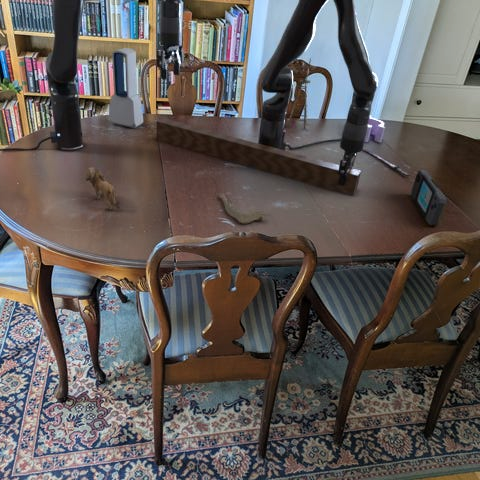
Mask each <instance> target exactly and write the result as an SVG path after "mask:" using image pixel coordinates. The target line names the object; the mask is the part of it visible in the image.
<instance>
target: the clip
mask: <svg viewBox="0 0 480 480" xmlns="http://www.w3.org/2000/svg"><path fill="white" fill-rule="evenodd" d="M385 129H386V127H385V122H384V121H383V120H380V119H377V118H374V117H372V115H371V114H370V118H369V122H368V127H367V133H366V137H365V141H364V143H368V142H369V140H370V135H372V136H374V139H373V140H374V142H376V143H382V140H383V137H384V132H385Z"/></svg>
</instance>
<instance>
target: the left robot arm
mask: <svg viewBox="0 0 480 480" xmlns="http://www.w3.org/2000/svg"><path fill="white" fill-rule="evenodd" d="M84 8H85V0H52V21H53V30H54V31H53V32H54V40H53V47H52V51H50V52H49V54H47V56H46V58H45V70H46V78H47V79H46V80H47V85H48V91H49V95H50V101H51V102H50V103H51V110H52V116H53V127H54V128H53V129H54V130H53V131H49V135H50V136H48V137H46V138H43V139H41V140H40V141H39V142H38V144H37V146H34V147H32V148H21V147H19V148H18V147H9V148H7V147H6V148H0V152H5V151H7V152H8V151H22V152H23V151H35V150H37V149H39V148H40V146H41V144H42V143H44V142H46V141H48V140H50V142H51V144H56V149H57V150H59V151H60V150H62V151H77V150H80V149H83V147H84V140H83V139H84V138H83V135H84V134H83V129H82V120H81V108H80V100H79V99H80V98H79V97H80V96H79V92H78V91H79V90H78V87H77V81H76V76H77V74H78V48H79V39H80V34H81V28H82V21H83V15H84V10H85V9H84ZM159 43H160V44H161V45H162V49H157V50H156V68H160V79H161V80H164V81H166V80H167V79H168V66H169V65H170V64H171V62H173V75H174V76H180V74H181V73H180V72H181V65H182V63H184V61H185V60H184V59H185V56H184V51H185V50H184V49H185V47H184V45H182V2H181V0H160V19H159Z"/></svg>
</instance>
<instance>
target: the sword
mask: <svg viewBox="0 0 480 480" xmlns="http://www.w3.org/2000/svg"><path fill="white" fill-rule="evenodd" d="M362 151H365V152H366V153H368V154H370V155H371V156H374V157H375V158H377V159H378V160H380V161H382V162H384V164H386V165H388V166H390V168H392V169H394V170H397V171H398V172H400V173H401V174H402V175H404V176H406V177H410V174H408V173H407V172H406V171H404V170H403V169H402V168H400V166H398V165H395V164H394V163H392V162H389V161H388V160H386V159H385V158H383V157H381V156H379V155H377V154H376V153H373V152H372V151H370V150H368V149H366V148H363V149H362Z"/></svg>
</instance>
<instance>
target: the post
mask: <svg viewBox="0 0 480 480" xmlns="http://www.w3.org/2000/svg"><path fill="white" fill-rule="evenodd" d="M156 140H157V141H159V142H160V141H161V142H163V143H167V144H171V145H174V146H177V147H182V148H184V149H187V150H191V151H195V152H199V153H202V154H206V155H210V156H212V157H215V158H220V159H224V160H227V161H230V162H234V163H237V164H241V165H244V166H248V167H251V168H254V169H258V170H261V171H264V172H269V173H271V174H276V175H280V176H283V177H285V178H290V179H293V180H297V181H300V182H304V183H307V184H311V185H314V186H318V187H320V188H325V189H328V190H332V191H334V192H338V193H342V194H346V195H347V196H348V195H349V196H353V197H354V195H355V194H356V192H357V190H358V186H359V182H360V179H361V174H362V170H360V169H355V168H353V167H352V168H350V170H348V173H347V176H346V180H345V184H344V186H341V185H338V181H339V176H340V175H338V172H339V166H340V164H336V163H333V162H329V161H325V160H321V159H317V158H314V157H311V156H307V155H302V154H299V153H295V152H291V151H288V150H281V149H277V148H273V147H269V146H266V145H262V144H258V142H253V141H250V140H247V139H243V138H239V137H235V136H232V135H228V134H224V133H220V132H216V131H212V130H209V129H205V128H201V127H198V126H194V125H190V124H187V123H183V122H179V121H176V120H172V119H168V118H165V117H164V118H161V119H158V120H156ZM342 172H345V171H343V170H342Z"/></svg>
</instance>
